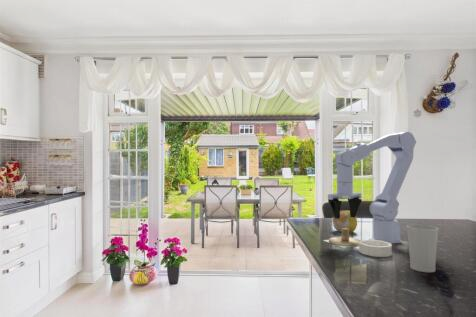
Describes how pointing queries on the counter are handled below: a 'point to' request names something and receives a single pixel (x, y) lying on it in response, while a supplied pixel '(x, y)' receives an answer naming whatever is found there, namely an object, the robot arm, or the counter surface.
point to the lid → (344, 239)
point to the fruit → (345, 222)
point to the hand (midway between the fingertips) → (345, 217)
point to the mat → (338, 245)
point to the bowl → (375, 248)
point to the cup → (422, 247)
